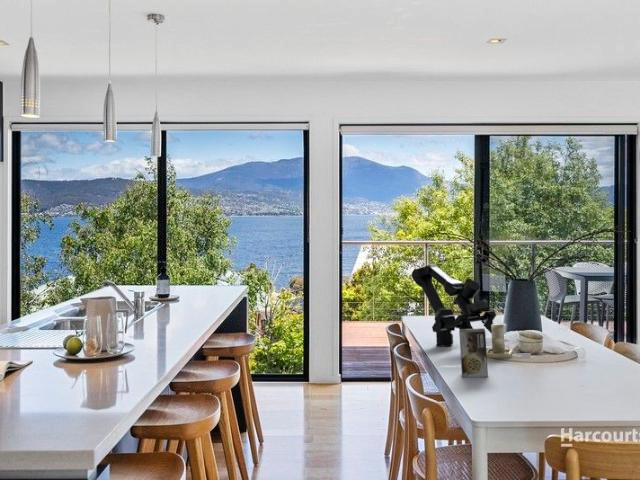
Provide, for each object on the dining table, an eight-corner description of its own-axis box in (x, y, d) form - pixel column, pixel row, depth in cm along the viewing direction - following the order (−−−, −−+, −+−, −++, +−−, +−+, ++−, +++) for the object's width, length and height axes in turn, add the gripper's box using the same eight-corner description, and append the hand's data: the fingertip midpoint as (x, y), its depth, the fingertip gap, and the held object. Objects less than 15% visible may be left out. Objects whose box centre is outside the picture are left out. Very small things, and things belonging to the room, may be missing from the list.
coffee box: (487, 373, 239) (485, 328, 239) (488, 377, 233) (486, 330, 232) (461, 373, 241) (459, 328, 241) (461, 377, 235) (459, 331, 234)
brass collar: (484, 357, 263) (484, 353, 263) (487, 352, 272) (487, 348, 272) (510, 357, 259) (510, 353, 259) (513, 352, 269) (512, 348, 269)
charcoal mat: (466, 359, 264) (466, 357, 264) (474, 348, 287) (474, 346, 287) (529, 360, 256) (529, 358, 256) (533, 348, 278) (533, 346, 278)
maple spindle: (488, 355, 265) (487, 325, 265) (494, 352, 270) (493, 323, 270) (502, 356, 262) (501, 326, 261) (509, 354, 266) (507, 324, 266)
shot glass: (507, 340, 301) (506, 325, 300) (491, 340, 302) (491, 325, 302) (506, 337, 307) (505, 322, 307) (491, 338, 309) (490, 323, 309)
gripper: (456, 295, 273) (475, 325, 263) (492, 291, 281) (511, 320, 272) (445, 313, 280) (463, 342, 271) (480, 308, 288) (499, 337, 279)
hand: (485, 335), depth 273 cm, fingers open, 9 cm apart
